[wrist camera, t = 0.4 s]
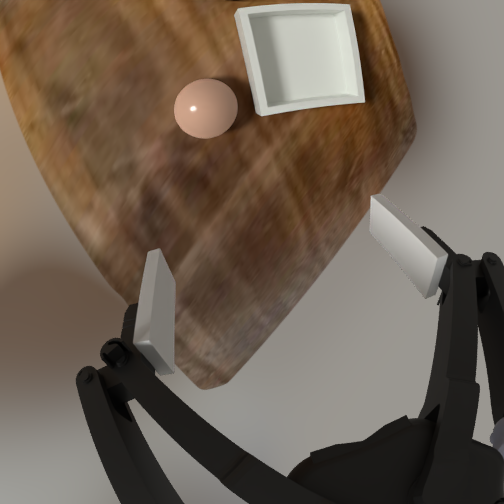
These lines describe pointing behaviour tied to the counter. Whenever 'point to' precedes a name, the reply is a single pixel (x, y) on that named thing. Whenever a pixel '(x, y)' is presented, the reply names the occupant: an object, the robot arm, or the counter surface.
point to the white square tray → (300, 56)
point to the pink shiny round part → (205, 108)
